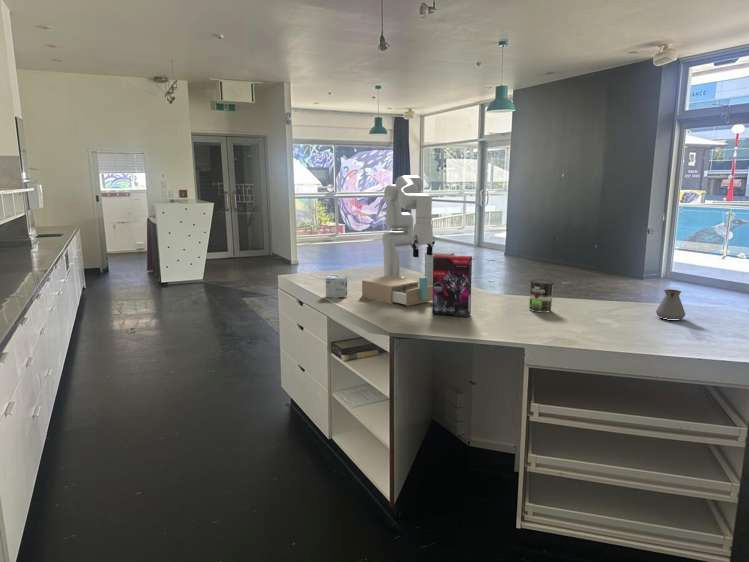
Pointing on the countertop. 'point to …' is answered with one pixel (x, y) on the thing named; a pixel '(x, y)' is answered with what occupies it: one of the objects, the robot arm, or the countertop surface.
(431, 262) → the hard drive box
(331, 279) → the light bulb box
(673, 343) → the countertop surface
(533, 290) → the coffee can
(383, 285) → the sleeve
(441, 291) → the graphics card box
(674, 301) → the coffee pot
